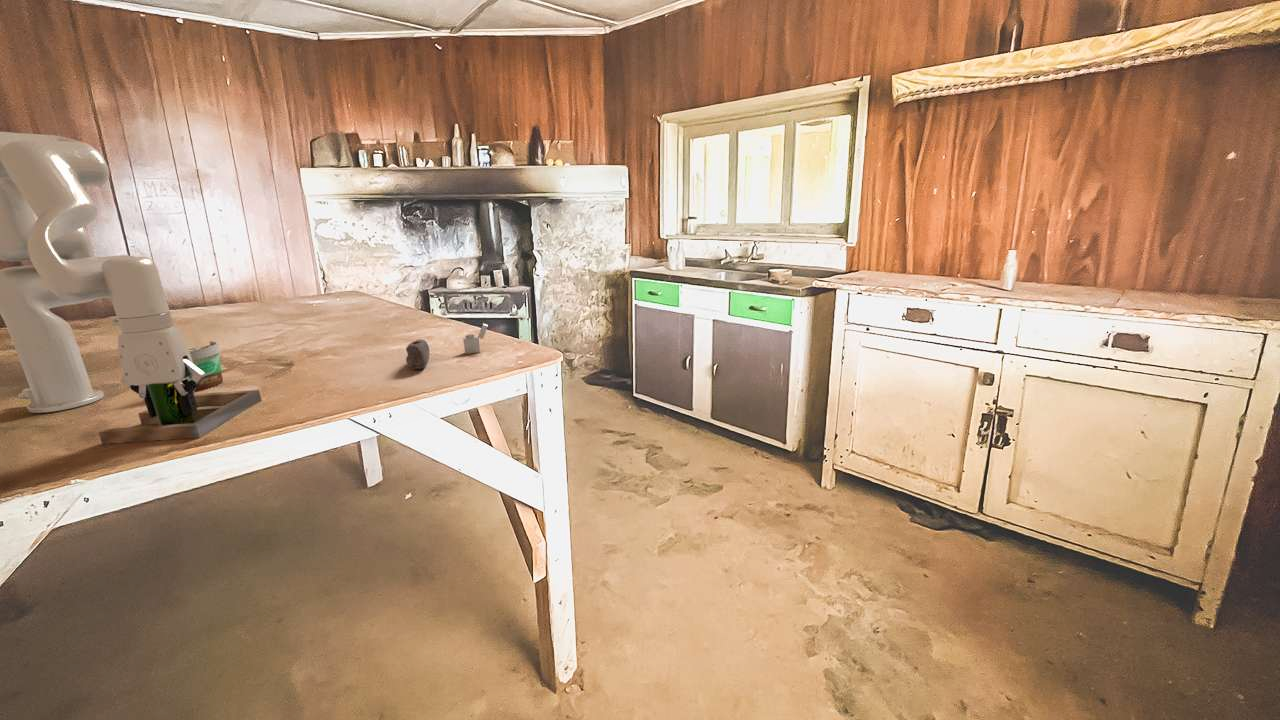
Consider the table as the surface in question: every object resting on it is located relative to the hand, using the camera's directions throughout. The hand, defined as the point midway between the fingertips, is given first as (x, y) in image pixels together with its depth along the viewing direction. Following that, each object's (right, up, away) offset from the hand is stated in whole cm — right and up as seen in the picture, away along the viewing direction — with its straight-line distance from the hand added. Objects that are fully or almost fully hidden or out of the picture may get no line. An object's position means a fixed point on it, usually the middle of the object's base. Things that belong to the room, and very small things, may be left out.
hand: (174, 412), depth 109 cm
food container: (-15, +4, +28) cm, 32 cm away
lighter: (+46, +13, +49) cm, 68 cm away
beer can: (0, -4, +1) cm, 4 cm away
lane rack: (-2, -2, +5) cm, 6 cm away
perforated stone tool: (+33, +9, +39) cm, 52 cm away
